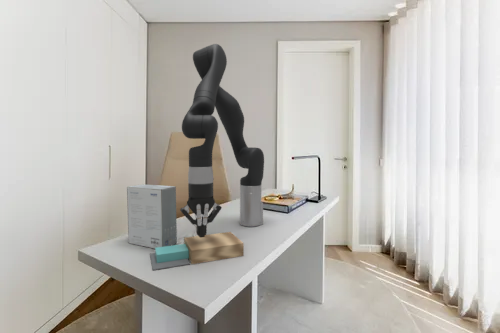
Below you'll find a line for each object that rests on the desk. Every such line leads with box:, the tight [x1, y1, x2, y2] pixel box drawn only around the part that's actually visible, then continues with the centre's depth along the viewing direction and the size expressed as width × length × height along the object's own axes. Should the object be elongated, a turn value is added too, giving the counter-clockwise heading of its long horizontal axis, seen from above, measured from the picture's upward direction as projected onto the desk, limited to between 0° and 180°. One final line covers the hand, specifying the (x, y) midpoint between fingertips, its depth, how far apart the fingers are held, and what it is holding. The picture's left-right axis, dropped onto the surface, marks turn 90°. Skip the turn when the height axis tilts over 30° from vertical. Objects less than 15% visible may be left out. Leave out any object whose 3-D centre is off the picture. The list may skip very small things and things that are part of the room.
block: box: [154, 243, 189, 263], centre depth 82 cm, size 9×6×2 cm, turn 114°
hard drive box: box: [126, 183, 178, 250], centre depth 94 cm, size 16×8×20 cm, turn 66°
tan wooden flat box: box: [183, 231, 245, 265], centre depth 87 cm, size 16×12×4 cm
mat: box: [149, 252, 191, 271], centre depth 81 cm, size 10×12×1 cm
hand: (201, 236), depth 85 cm, fingers closed
